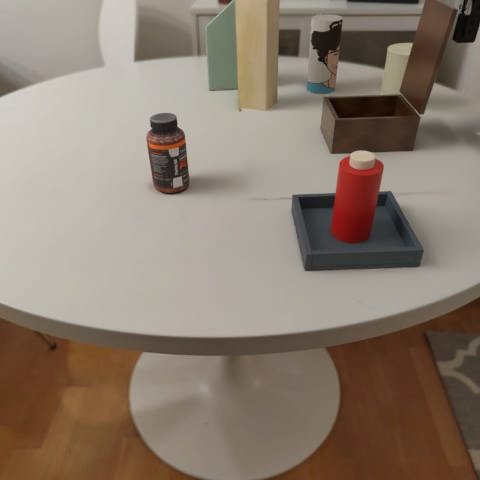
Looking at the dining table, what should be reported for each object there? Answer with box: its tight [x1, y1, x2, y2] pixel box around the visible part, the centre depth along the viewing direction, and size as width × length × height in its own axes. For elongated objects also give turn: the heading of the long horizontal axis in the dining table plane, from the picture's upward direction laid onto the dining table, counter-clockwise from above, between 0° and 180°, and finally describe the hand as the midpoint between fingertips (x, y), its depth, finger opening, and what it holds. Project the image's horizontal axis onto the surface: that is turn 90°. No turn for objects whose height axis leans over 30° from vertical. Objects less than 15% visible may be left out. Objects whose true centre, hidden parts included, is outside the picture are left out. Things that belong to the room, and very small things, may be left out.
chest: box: [320, 94, 422, 155], centre depth 84 cm, size 15×12×7 cm
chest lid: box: [399, 0, 459, 115], centre depth 76 cm, size 15×12×1 cm
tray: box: [291, 190, 425, 271], centre depth 62 cm, size 15×15×3 cm
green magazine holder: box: [204, 0, 238, 91], centre depth 107 cm, size 16×8×20 cm, turn 96°
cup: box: [306, 13, 344, 95], centre depth 104 cm, size 7×7×15 cm
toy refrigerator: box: [235, 0, 281, 112], centre depth 95 cm, size 8×7×21 cm
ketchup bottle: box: [331, 151, 385, 243], centre depth 59 cm, size 5×5×11 cm
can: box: [379, 42, 415, 110], centre depth 96 cm, size 9×9×12 cm
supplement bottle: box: [145, 112, 190, 194], centre depth 71 cm, size 6×6×11 cm
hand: (463, 41), depth 75 cm, fingers closed
